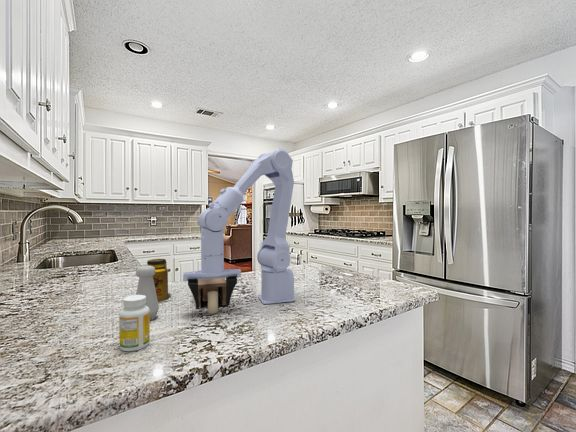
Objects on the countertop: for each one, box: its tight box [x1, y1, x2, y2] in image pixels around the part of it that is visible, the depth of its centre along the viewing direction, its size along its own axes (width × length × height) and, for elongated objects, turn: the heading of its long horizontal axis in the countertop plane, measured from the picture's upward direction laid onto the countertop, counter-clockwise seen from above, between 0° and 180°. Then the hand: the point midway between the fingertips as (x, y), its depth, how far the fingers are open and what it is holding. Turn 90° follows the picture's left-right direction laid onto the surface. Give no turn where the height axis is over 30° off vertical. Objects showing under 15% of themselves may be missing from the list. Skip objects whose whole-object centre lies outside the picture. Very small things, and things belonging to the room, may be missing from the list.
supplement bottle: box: [118, 294, 151, 352], centre depth 58 cm, size 5×5×10 cm
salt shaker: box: [135, 265, 160, 321], centre depth 72 cm, size 6×6×13 cm
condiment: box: [146, 258, 172, 303], centre depth 89 cm, size 7×8×12 cm
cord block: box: [201, 287, 219, 315], centre depth 83 cm, size 4×16×5 cm, turn 18°
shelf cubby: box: [198, 278, 227, 308], centre depth 87 cm, size 8×12×6 cm
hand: (212, 306), depth 77 cm, fingers open, 7 cm apart
